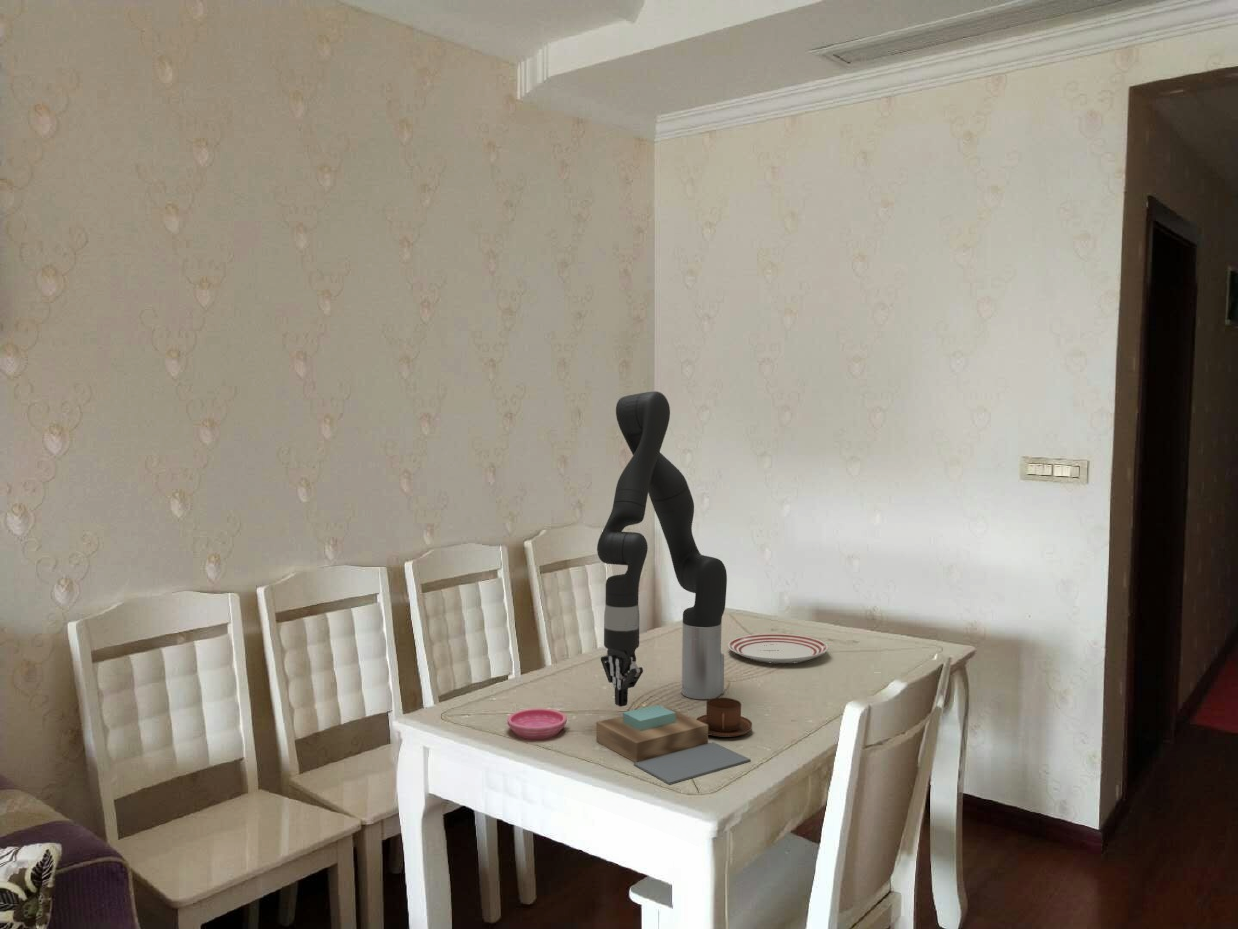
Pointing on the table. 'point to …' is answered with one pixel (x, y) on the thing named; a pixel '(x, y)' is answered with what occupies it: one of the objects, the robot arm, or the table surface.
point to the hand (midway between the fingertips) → (620, 705)
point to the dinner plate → (778, 647)
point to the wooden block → (651, 737)
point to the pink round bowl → (537, 723)
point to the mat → (691, 762)
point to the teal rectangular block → (649, 717)
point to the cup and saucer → (725, 718)
